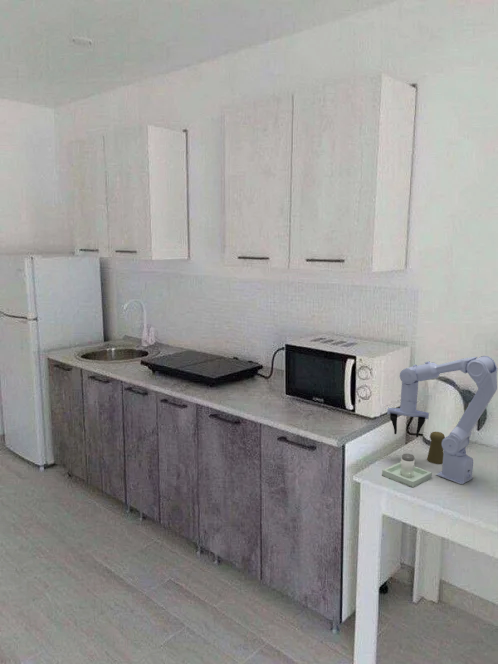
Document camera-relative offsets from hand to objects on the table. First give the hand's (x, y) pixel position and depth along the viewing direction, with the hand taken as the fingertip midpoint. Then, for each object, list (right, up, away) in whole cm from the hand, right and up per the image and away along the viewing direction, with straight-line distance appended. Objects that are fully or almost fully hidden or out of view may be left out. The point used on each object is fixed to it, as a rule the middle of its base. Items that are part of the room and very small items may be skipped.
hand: (406, 434), depth 192 cm
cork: (+12, -11, +3) cm, 16 cm away
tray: (-3, -12, -11) cm, 17 cm away
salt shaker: (-3, -12, -11) cm, 17 cm away
